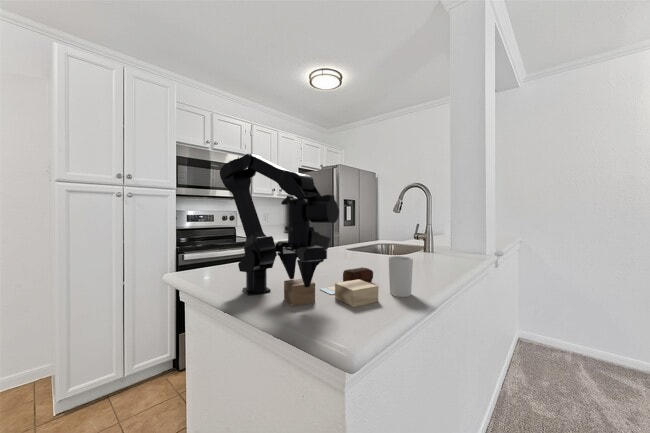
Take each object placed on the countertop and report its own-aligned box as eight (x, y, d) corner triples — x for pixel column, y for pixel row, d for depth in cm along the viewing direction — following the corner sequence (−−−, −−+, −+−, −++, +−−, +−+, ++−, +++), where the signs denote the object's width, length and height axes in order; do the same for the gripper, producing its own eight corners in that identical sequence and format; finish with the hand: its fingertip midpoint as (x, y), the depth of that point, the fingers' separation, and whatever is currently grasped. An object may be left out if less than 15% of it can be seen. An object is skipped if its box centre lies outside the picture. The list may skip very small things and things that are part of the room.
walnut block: (284, 299, 71) (284, 280, 71) (304, 296, 74) (304, 278, 74) (293, 306, 66) (293, 286, 66) (315, 302, 69) (315, 283, 69)
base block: (335, 298, 72) (335, 283, 72) (358, 293, 76) (358, 279, 76) (353, 307, 65) (353, 290, 65) (378, 301, 70) (378, 285, 69)
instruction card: (319, 289, 80) (319, 288, 80) (344, 285, 85) (344, 284, 85) (330, 294, 75) (330, 293, 75) (356, 290, 80) (356, 289, 80)
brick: (352, 288, 81) (352, 272, 81) (342, 285, 84) (342, 270, 84) (373, 282, 89) (373, 268, 89) (363, 280, 92) (364, 266, 92)
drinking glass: (397, 298, 72) (397, 260, 72) (383, 291, 78) (383, 256, 78) (418, 295, 74) (418, 259, 74) (403, 289, 81) (403, 255, 81)
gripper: (345, 223, 66) (345, 287, 66) (310, 221, 82) (309, 272, 82) (304, 224, 60) (304, 294, 61) (274, 221, 76) (274, 276, 77)
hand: (299, 282), depth 70 cm, fingers open, 9 cm apart
